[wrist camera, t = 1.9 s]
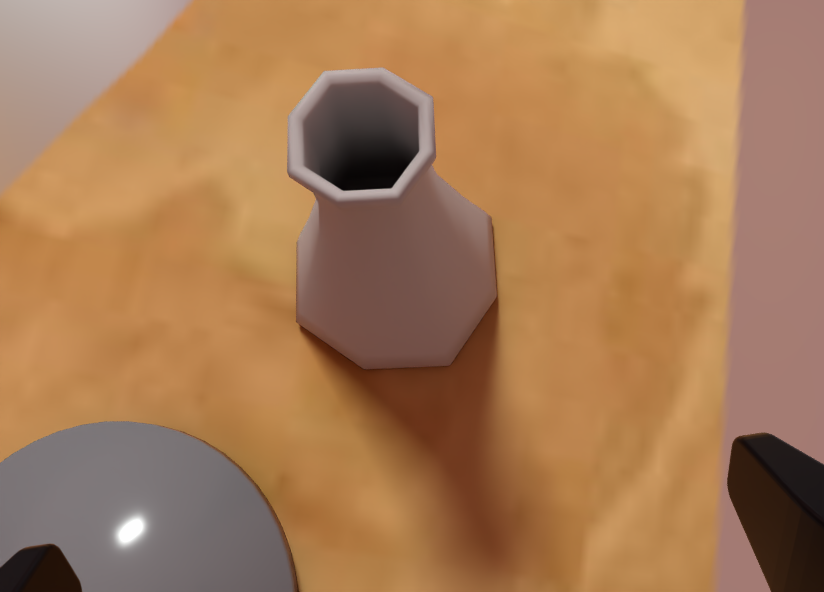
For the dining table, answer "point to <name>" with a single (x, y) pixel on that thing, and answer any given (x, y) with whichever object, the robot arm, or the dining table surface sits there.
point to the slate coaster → (143, 512)
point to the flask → (384, 226)
